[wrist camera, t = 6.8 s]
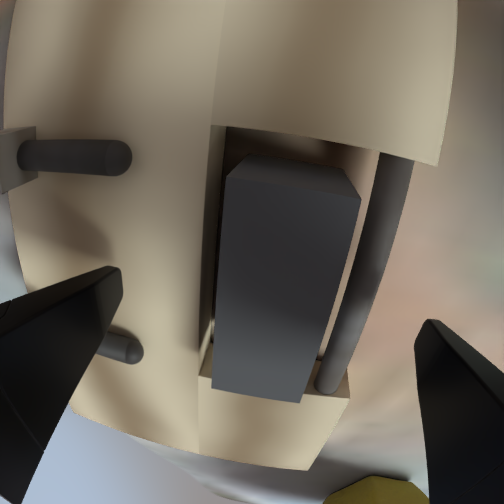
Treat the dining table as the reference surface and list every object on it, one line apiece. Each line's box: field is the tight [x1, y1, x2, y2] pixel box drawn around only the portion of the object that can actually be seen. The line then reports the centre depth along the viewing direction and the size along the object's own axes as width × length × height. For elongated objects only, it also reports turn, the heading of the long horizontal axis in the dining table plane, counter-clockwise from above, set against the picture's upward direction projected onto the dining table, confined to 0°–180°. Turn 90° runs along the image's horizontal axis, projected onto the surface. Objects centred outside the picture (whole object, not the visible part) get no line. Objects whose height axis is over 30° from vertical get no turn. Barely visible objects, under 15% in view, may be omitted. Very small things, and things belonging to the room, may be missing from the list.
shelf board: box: [0, 0, 458, 471], centre depth 10 cm, size 14×23×4 cm, turn 173°
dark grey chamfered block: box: [211, 154, 361, 403], centre depth 10 cm, size 3×7×4 cm, turn 173°
